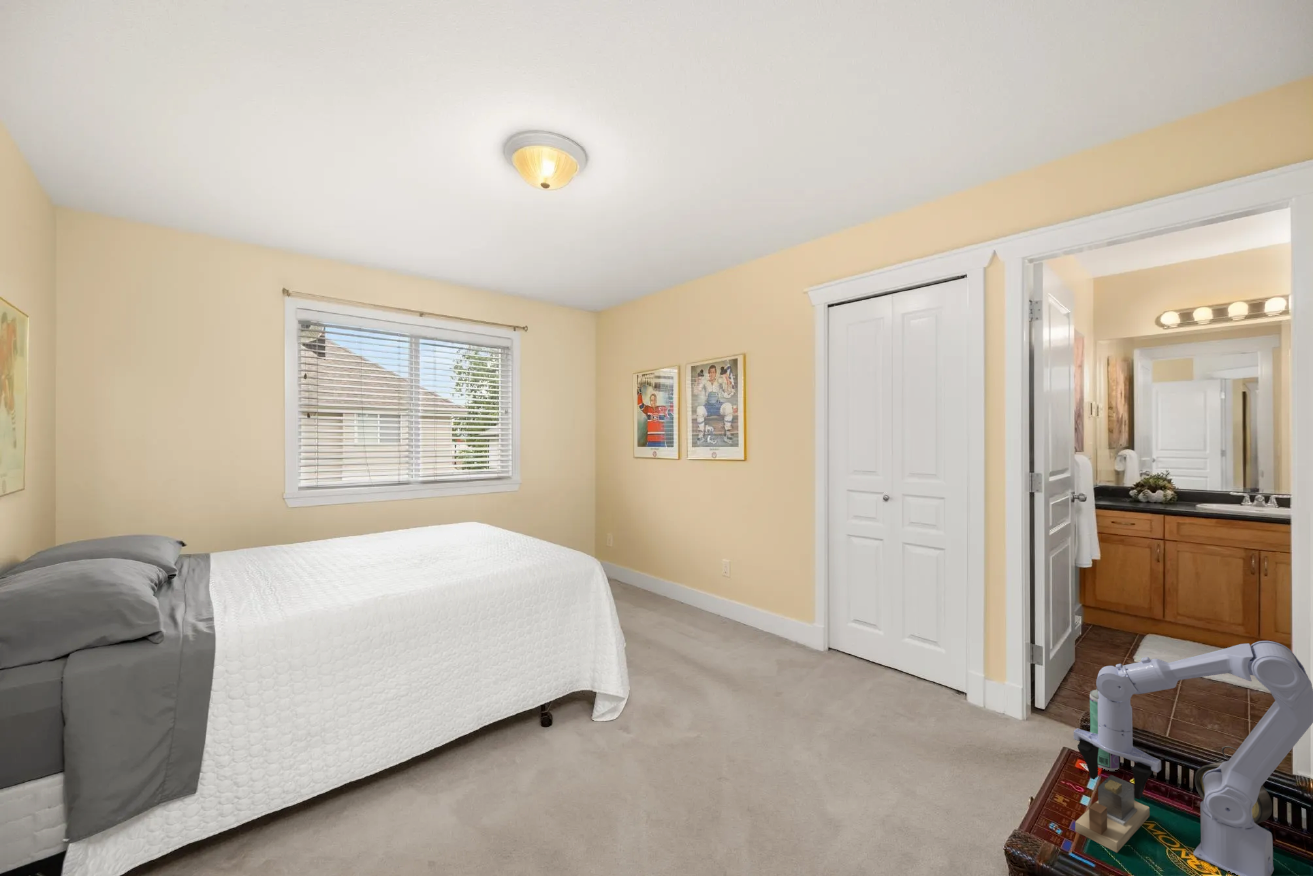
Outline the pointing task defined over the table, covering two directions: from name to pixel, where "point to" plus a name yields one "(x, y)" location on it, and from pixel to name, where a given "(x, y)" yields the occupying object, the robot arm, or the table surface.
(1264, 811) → the alarm clock
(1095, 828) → the hand plane
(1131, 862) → the table surface
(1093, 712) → the spray can
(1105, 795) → the lever cap
